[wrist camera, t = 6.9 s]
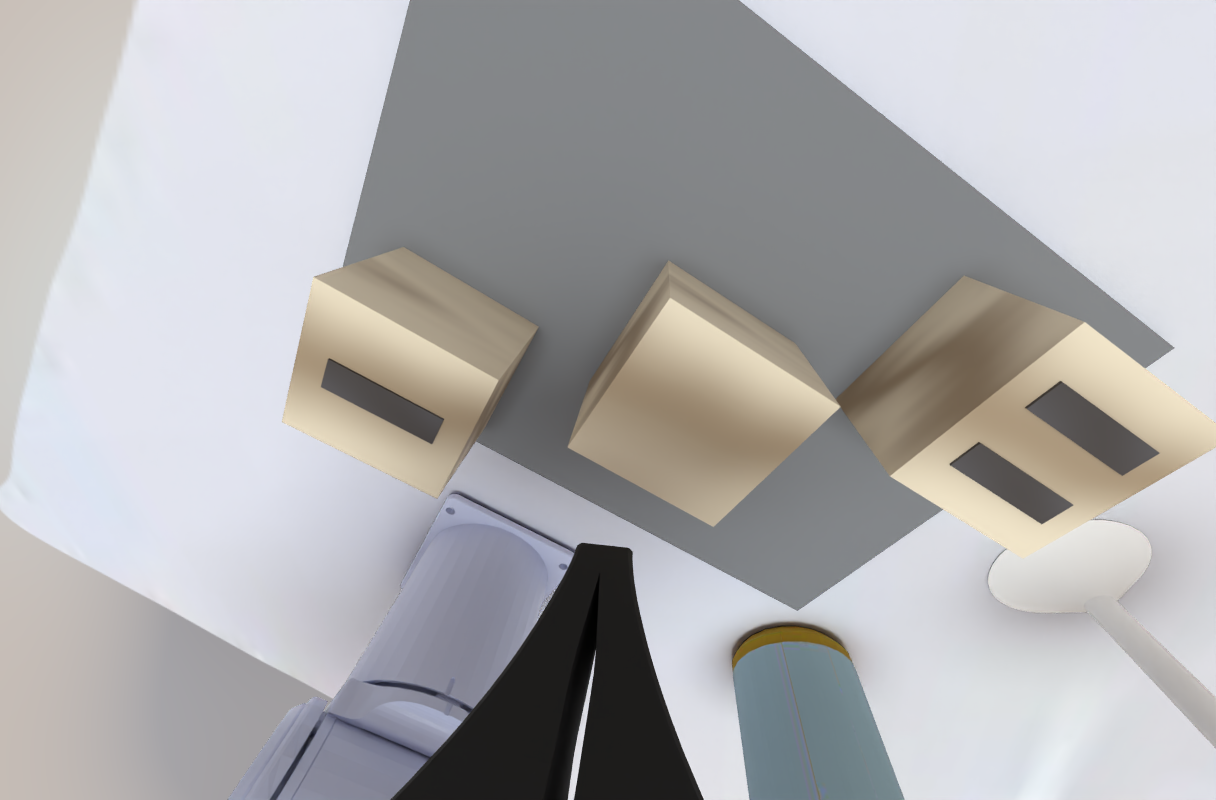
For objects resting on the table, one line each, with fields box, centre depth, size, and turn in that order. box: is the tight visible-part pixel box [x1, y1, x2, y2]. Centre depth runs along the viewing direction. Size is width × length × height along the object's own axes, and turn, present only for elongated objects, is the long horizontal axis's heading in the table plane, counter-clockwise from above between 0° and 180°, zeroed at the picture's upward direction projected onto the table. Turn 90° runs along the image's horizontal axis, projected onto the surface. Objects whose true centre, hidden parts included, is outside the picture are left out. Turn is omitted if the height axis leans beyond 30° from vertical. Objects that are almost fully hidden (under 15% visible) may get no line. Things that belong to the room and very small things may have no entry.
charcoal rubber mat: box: [343, 0, 1174, 611], centre depth 18 cm, size 19×28×1 cm
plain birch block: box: [568, 260, 841, 527], centre depth 16 cm, size 6×6×5 cm
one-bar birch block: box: [282, 247, 539, 498], centre depth 17 cm, size 6×6×5 cm
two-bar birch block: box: [836, 276, 1216, 559], centre depth 15 cm, size 6×6×5 cm
